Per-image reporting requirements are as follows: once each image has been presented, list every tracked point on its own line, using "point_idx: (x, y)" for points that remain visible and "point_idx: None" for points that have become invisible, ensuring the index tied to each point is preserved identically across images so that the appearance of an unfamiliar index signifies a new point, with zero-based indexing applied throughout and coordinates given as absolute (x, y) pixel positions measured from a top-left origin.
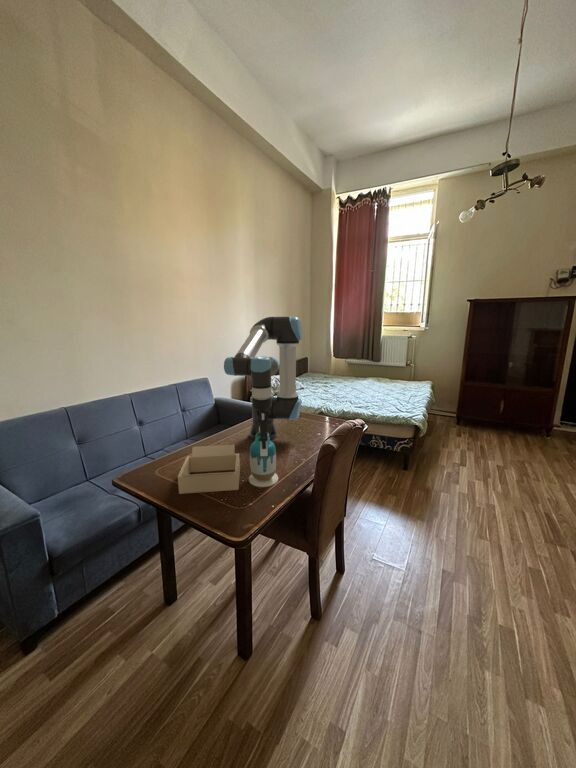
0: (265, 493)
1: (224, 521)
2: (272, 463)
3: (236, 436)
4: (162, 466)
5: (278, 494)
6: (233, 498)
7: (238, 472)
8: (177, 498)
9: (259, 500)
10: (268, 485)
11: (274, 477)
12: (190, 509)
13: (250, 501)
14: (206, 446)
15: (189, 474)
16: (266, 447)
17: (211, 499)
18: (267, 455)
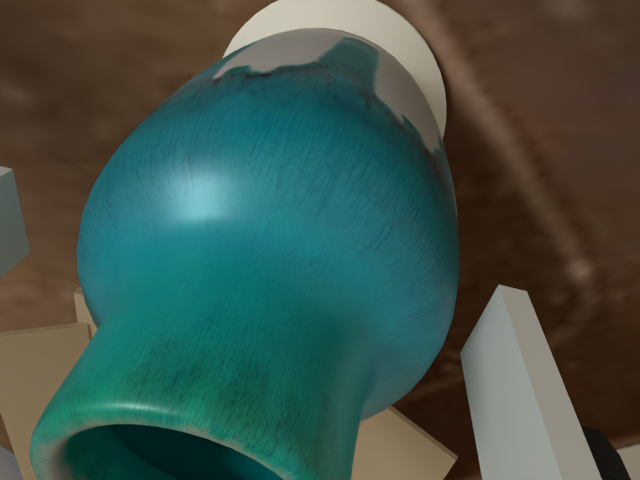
0: (522, 161)
1: (635, 395)
2: (438, 132)
3: None
4: None
5: (596, 74)
6: (469, 327)
7: None
8: None
9: (578, 219)
10: (445, 117)
11: (351, 31)
12: (459, 459)
13: (553, 265)
14: (24, 465)
15: None
16: (561, 415)
17: (425, 398)
18: (527, 296)
